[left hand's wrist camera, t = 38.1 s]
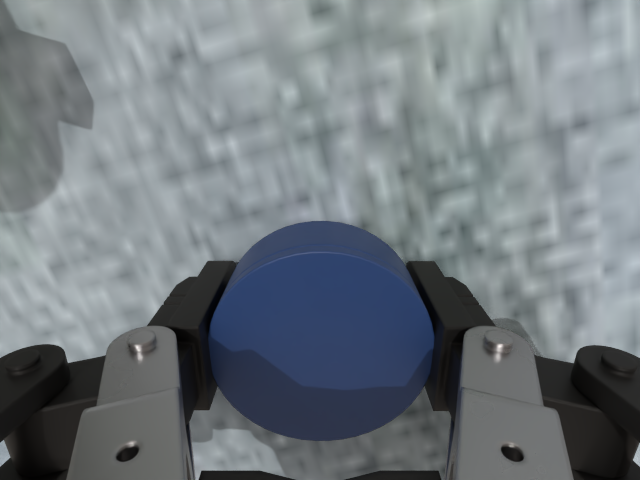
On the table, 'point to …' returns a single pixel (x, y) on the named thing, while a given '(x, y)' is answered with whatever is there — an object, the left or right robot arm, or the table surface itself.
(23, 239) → the table surface
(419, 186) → the table surface
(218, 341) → the lid
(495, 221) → the table surface
